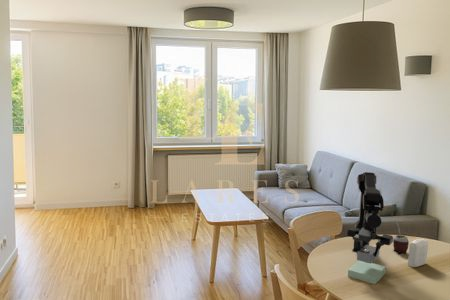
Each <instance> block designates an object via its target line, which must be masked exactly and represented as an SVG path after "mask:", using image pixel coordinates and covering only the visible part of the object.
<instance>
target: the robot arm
mask: <svg viewBox="0 0 450 300" xmlns="http://www.w3.org/2000/svg"><path fill="white" fill-rule="evenodd" d="M356 179H357V180H356V183H357V187H358V189H359V192H360V201H359V211H358V215H359V216H358V219H357V221H356V222H355V223H354V224H355V225H354V226H351V227H350V228H349V229H347V230H346V236H347V237H349V238H352V240H353V248H352V249H351V250H352V252H356V253H357V251H358V250H360V249H361V248H363V247H364V246H365V245H369V246H370V242H371V241H373V240H374V241H375V240H377V242H375V247H376V250H375V257H376V256H377V254H378V252H379V253H380V249H381V248H382V247H383V246H384V245H385V246H390V245H392V244H393V241H394V237H393V235H389V234H387V233H383V234H382V235H378V228H379V227H380V226H381V224H382V219H381V216H380V213H379V211H380V212H383V210H384V207H385V203H384V198H383V194H381V191H380V190H379V189H378V188H377V187H376V184H377V175H376V173H375V172H371V171H369V172H368V171H367V172H363V173H360V174H358V175H357V177H356Z"/></svg>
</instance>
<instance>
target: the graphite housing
mask: <svg viewBox="0 0 450 300" xmlns="http://www.w3.org/2000/svg"><path fill="white" fill-rule="evenodd" d="M375 250H376V246H372V245H370V244H369V245H365V246H364V247H363V248H361V249H360V250H358V251H357V252H356V253H357V254H356V261H363V262H366V263H370V264H371V263H373V262H374V261H375V260H377V259H378V258H379V257H380V251H379V252H378V254H377V256H376V257H375Z"/></svg>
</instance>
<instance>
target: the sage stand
mask: <svg viewBox="0 0 450 300" xmlns="http://www.w3.org/2000/svg"><path fill="white" fill-rule="evenodd" d="M386 266H387V265H386ZM386 266H385V265H382V264H378V263H373V262H372V263H371V264H370V263H366V262H363V261H359V260H356V262H355V263H354V264H353V265H352V266H351V267H350V268H348V269H347V270H348V271H347V277H349V278H353V279H356V280H360V281H364V282H365V283H371V284H373V285H376V284H377V283H378V282H379V281H380V279H381V278H383V276H384V275H385V274H386V269H387V267H386Z"/></svg>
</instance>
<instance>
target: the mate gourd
mask: <svg viewBox="0 0 450 300" xmlns="http://www.w3.org/2000/svg"><path fill="white" fill-rule="evenodd" d="M394 221H395V223H396V225H397V228H398V234H397V235H395V236H394V237H393V242H392V246H393V252H397V254H398V255H400V254H401V253H402V254H406V255H407V254H408V253H407V251H408V249H409V246H410V242H409V239H408V237H407V236H405V235H401V230H400V225H399V223H398V221H397V220H396V219H394Z"/></svg>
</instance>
